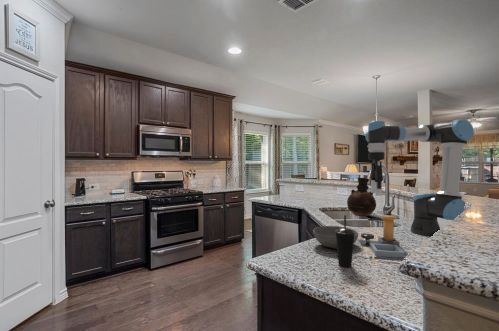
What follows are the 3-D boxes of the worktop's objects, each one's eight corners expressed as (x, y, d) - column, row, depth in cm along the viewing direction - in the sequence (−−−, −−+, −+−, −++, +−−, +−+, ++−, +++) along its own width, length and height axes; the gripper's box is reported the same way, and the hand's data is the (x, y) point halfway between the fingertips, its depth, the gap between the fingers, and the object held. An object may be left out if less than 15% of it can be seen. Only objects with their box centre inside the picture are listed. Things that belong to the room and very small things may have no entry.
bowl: (359, 244, 142) (359, 228, 142) (356, 256, 123) (356, 238, 123) (317, 239, 151) (317, 224, 151) (308, 250, 132) (308, 233, 132)
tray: (396, 252, 128) (396, 244, 128) (404, 261, 117) (404, 252, 117) (370, 251, 130) (370, 243, 130) (375, 259, 119) (375, 250, 119)
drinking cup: (354, 263, 114) (354, 214, 114) (355, 269, 107) (355, 217, 107) (335, 261, 117) (335, 213, 117) (334, 267, 110) (334, 216, 110)
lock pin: (393, 243, 137) (393, 215, 137) (396, 246, 132) (396, 217, 132) (380, 242, 139) (380, 215, 138) (383, 246, 133) (383, 217, 133)
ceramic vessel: (346, 217, 214) (346, 177, 213) (347, 213, 230) (347, 176, 230) (376, 218, 206) (376, 178, 206) (375, 214, 222) (375, 177, 222)
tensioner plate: (396, 244, 140) (396, 233, 140) (403, 252, 128) (403, 240, 128) (357, 242, 144) (358, 231, 144) (361, 249, 132) (361, 237, 132)
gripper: (364, 152, 154) (364, 191, 154) (372, 150, 130) (372, 196, 130) (379, 152, 152) (379, 191, 152) (390, 150, 128) (389, 197, 128)
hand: (376, 194), depth 141 cm, fingers open, 13 cm apart
